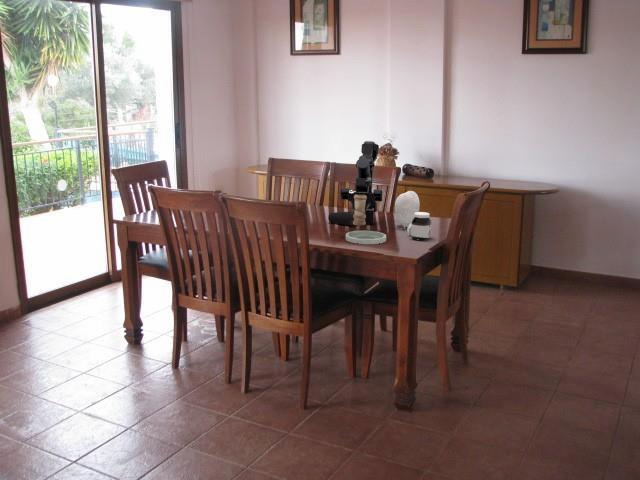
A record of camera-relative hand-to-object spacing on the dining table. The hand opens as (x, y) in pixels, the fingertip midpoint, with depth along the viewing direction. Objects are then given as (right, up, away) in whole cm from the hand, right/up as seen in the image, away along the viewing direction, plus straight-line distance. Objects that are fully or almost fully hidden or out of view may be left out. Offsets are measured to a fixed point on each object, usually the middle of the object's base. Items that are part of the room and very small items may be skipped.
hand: (359, 210), depth 313 cm
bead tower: (0, -6, +3) cm, 7 cm away
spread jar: (+27, -12, +10) cm, 31 cm away
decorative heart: (+24, -7, +31) cm, 40 cm away
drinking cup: (-12, -2, +38) cm, 40 cm away
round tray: (+3, -13, +4) cm, 14 cm away
